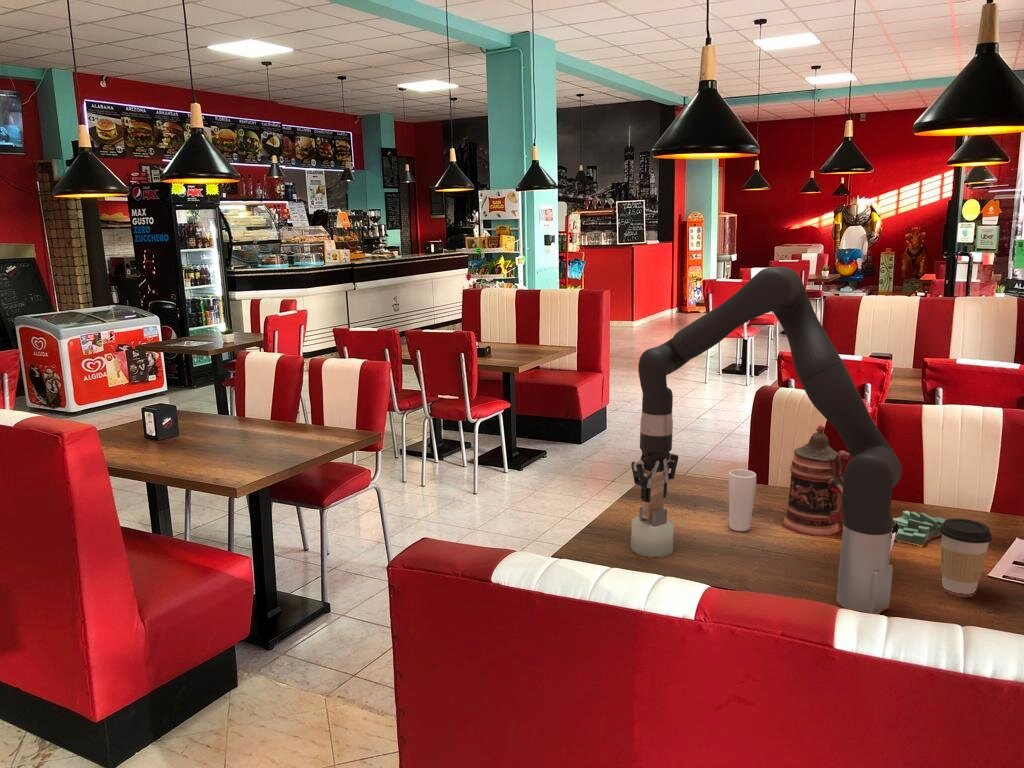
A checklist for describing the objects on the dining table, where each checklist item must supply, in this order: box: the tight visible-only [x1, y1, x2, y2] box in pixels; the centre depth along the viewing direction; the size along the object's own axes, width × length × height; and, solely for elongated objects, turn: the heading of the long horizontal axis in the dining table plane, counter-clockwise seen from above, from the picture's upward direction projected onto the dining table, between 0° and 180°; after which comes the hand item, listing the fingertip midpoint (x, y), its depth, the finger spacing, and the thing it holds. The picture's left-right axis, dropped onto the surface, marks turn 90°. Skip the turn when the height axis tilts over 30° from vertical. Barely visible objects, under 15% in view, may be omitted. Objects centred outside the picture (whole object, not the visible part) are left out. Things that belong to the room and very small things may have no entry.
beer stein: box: [781, 424, 851, 537], centre depth 208 cm, size 17×28×18 cm
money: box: [893, 510, 946, 545], centre depth 208 cm, size 20×16×5 cm
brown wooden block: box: [642, 470, 665, 520], centre depth 194 cm, size 2×5×12 cm, turn 126°
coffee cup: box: [939, 517, 993, 594], centre depth 173 cm, size 10×10×15 cm
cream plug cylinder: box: [630, 505, 675, 558], centre depth 195 cm, size 10×10×10 cm
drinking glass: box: [727, 468, 757, 533], centre depth 208 cm, size 7×7×15 cm
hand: (653, 499), depth 194 cm, fingers closed on brown wooden block, 4 cm apart
